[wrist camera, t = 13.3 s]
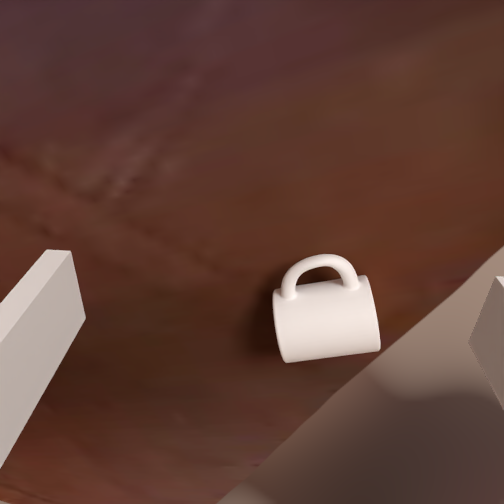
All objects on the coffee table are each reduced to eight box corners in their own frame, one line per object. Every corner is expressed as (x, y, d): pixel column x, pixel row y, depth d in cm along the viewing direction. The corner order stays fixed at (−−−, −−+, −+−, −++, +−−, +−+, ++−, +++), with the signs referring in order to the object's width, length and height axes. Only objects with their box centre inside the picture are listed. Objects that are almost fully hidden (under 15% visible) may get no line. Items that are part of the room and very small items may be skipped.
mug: (369, 316, 51) (383, 367, 44) (286, 327, 53) (287, 379, 46) (358, 228, 45) (372, 272, 38) (264, 245, 47) (262, 290, 40)
